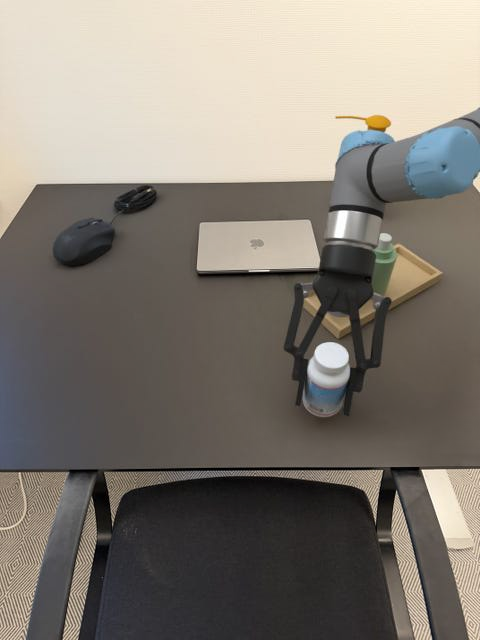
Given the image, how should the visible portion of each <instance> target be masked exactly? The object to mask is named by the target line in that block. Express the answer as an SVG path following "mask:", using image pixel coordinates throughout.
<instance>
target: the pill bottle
mask: <svg viewBox="0 0 480 640" xmlns="http://www.w3.org/2000/svg"><path fill="white" fill-rule="evenodd" d="M349 359H350V354H349V352H348V350H347V349H346V348H345V346H343V345H341V344H340V343H337V342H334V341H333V342H331V341H329V342H327V341H326V342H323V343H320V344H319V345H318V346H316V348H315V350H314V353H313V355H312V357H311V358H310V359H309V360H308V365H307V371H306V377H305V383H304V389H303V394H302V403H303V405H304V408H305V409H306V411H308V412H309V413H310V414H312V415H313V416H316V417H319V418H328V417H329V418H330V417H332V416H335V415H336V414H338V412H339V411H340V410H341V409H342V408H343V405H344V401H345V395H346V390H347V386H348V382H349V378H350V367H351V366H350V363H349Z"/></svg>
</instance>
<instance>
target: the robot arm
mask: <svg viewBox="0 0 480 640" xmlns="http://www.w3.org/2000/svg"><path fill="white" fill-rule="evenodd" d="M334 165H335V166H334V168H335V170H334V177H333V183H332V188H331V189H332V190H331V195H330V202H329V209H328V213H327V217H326V224H325V230H324V235H323V241H324V243H326V244H325V245H324V246H323V247H322V248H321V254H320V258H319V264H318V265H319V266H318V271H317V275H316V277H315V278H314V280H313V281H312V282H306V283H300V282H296V283H295V284H294V285H293V292H294V303H293V308H292V310H291V315H290V319H289V324H288V328H287V331H286V335H285V340H284V344H283V350H284V352H286V353H288V354H290V355H292V357H293V358H294V360H293V367H292V371H291V380H292V381H295V382H298V385H297V391H296V397H295V401H294V402H295V403H294V406H295V407H301V406H302V401H303V390H304V384H305V378H306V371H307V365H308V362H309V360H310V359H308V358H305V354H306V353H307V352H308V349H309V347H310V345H311V343H312V342H313V340H314V338H315V336H316V334H317V332H318V330H319V328H320V326H321V325H322V324H321V322H322V321H323V319H324V317H325V315H326V313H327V311H328V312H340V313H343V314H347V315H349V319H350V325H351V332H350V333H351V338H352V344H353V345H352V346H353V353H354V359H355V367H353V366H350V378H349V382H348V386H347V389H346V393H345V397H344V401H343V406H342V414H343V415H342V416H345V417H350V413H351V408H352V402H353V397H354V393H357V394H360V393H361V392H362V390H363V388H364V387H363V386H364V382H365V381H364V380H365V375H366V372H367V371H368V370H370V369H378V368H380V367H381V363H382V354H383V344H384V336H385V325H386V316H387V313H388V311H389V310H388V309H389V307H390V305H391V302H392V300H391V298H389V297H383V296H381V295H379V294H377V293H375V292H374V289H373V287H372V278H373V272H374V266H375V261H376V254H375V252H373V250H374V249H376V248H377V247H378V244H379V238H380V234H381V233H382V226H383V221H384V215H385V209H386V205H387V204H391V203H392V204H393V203H401V202H409V201H419V200H432V199H435V200H438V199H443V198H445V197H448V196H452V195H459V194H462V193H464V192H465V191H467V190H469V189H470V188H471V187H472V185H473V184H474V180H475V179H477V178H478V176H479V174H480V106H479V107H477V108H476V109H475V110H472V111H470V112H469V113H466V114H464V115H462V116H460V117H457V118H455V119H452V120H450V121H447V122H443V123H442V124H440V125H438V126H435V127H432V128H430V129H428V130H425V131H423V132H420V133H419V134H416V135H412V136H409V137H406V138H403V139H400V140H396V141H395V138H394V137H393V136H392V135H390V134H388V133H386V132H381V131H376V130H367V129H366V130H355V131H352V132H349V133H348V134H347V135H345V136H344V137H343V139H342V140H341V143H340V146H339V152H338V156H337V158H336V162H335V164H334ZM312 290H314V291H315V293H316V295H317V297H318V299H319V301H320V303H321V306H320V308H319V309H318V311H317V313H316V315H315V317H314V316H313V319H312V321H311V323H310V324H309V327H308V328H307V330H306V332H305V334H304V336H303V338H302V340H301V342H300V343H299V345H298V346H296V345H295V341H296V337H297V333H298V329H299V325H300V321H301V317H302V313H303V309H304V307H303V304H304V299H305V298H308V297H309V293H310V291H312ZM370 299H371V300H372V301H373V308H374V309H375V310H376V312H375V316H374V319H373V325H372V336H371V345H370V346H371V347H370V355H369V358H366V352H365V347H364V339H363V333H362V332H363V331H362V326H361V324H360V316H359V309H360V308H361V307H362V306H363V305H364V304H365V303H366V302H367V301H369V300H370Z"/></svg>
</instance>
